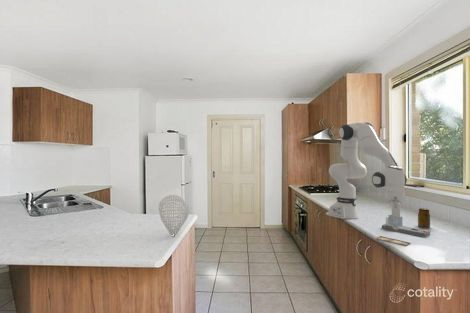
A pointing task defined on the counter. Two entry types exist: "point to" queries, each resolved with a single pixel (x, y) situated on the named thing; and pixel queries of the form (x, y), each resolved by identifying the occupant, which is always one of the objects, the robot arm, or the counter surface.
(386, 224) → the plug
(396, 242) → the oak pad
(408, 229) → the power strip
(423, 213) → the condiment
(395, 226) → the light blue block
